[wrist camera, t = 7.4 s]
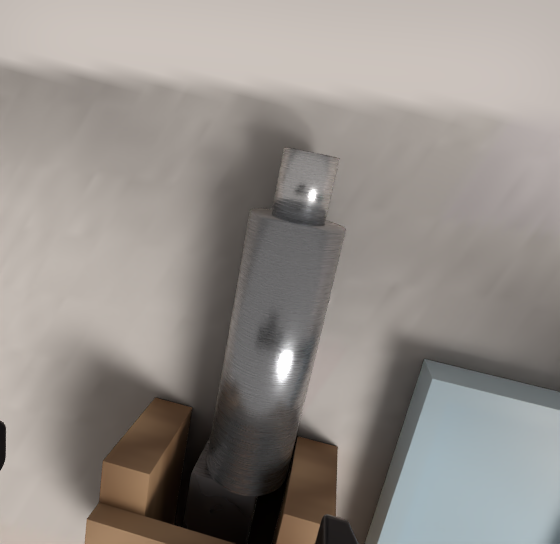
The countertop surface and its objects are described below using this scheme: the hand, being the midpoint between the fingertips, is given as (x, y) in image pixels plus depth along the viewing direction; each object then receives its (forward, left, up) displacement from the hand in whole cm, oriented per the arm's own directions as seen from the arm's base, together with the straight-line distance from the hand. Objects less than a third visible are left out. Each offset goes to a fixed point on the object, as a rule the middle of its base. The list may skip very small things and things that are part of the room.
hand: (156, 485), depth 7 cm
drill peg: (0, +1, -11) cm, 11 cm away
